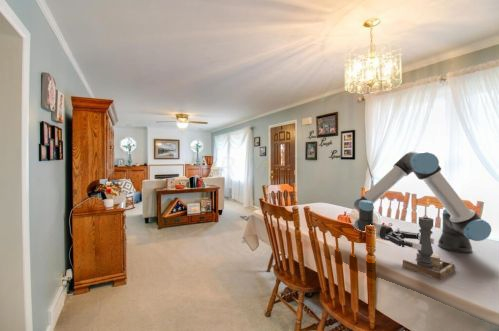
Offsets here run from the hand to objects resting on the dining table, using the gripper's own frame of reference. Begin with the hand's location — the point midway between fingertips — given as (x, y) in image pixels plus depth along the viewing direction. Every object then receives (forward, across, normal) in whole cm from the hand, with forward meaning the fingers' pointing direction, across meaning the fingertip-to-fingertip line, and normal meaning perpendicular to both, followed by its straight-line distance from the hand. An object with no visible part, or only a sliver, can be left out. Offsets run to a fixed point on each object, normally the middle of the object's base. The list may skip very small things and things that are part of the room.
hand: (427, 244), depth 113 cm
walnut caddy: (-1, -3, -13) cm, 13 cm away
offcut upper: (-1, -7, -10) cm, 12 cm away
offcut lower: (-1, -7, -13) cm, 15 cm away
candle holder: (-1, 0, -13) cm, 13 cm away
